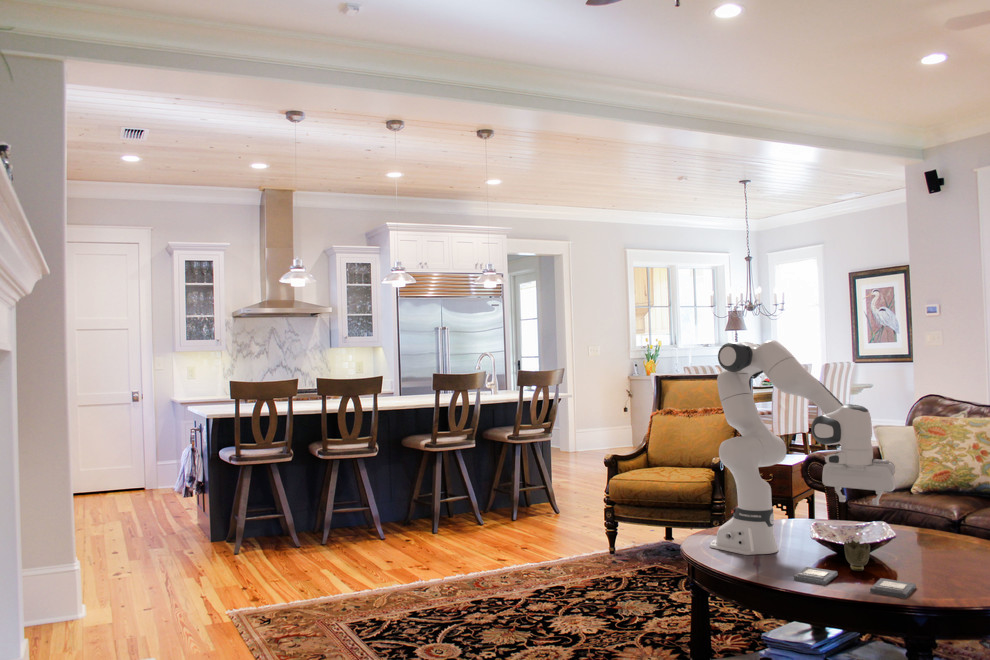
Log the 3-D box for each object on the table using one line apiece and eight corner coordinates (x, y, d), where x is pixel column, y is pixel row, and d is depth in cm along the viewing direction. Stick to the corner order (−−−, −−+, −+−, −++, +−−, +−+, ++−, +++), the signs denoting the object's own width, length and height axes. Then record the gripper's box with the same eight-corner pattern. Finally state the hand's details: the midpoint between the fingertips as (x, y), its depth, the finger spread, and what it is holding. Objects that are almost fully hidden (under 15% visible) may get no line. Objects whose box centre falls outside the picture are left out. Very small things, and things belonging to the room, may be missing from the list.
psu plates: (793, 579, 225) (793, 573, 225) (806, 570, 234) (806, 564, 234) (906, 598, 205) (905, 592, 205) (915, 587, 215) (915, 581, 215)
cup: (839, 569, 233) (839, 543, 233) (849, 564, 238) (849, 539, 238) (864, 575, 228) (864, 548, 228) (874, 570, 233) (874, 544, 233)
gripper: (897, 459, 228) (898, 505, 227) (825, 454, 241) (827, 498, 240) (892, 461, 223) (893, 508, 222) (819, 456, 236) (821, 501, 235)
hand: (858, 503), depth 231 cm, fingers open, 8 cm apart
